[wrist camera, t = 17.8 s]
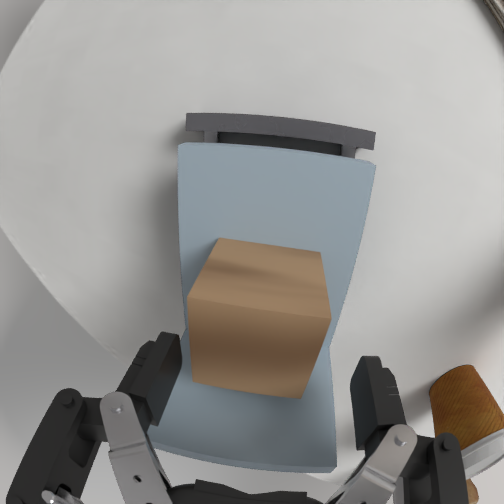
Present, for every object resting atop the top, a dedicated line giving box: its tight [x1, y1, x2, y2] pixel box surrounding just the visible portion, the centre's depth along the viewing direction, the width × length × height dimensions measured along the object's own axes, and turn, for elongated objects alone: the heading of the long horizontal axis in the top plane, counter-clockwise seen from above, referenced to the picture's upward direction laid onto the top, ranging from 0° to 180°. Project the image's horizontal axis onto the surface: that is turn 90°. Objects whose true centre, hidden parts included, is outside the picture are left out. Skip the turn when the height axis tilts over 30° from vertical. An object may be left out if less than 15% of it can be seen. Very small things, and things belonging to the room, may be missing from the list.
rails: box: [186, 113, 376, 159], centre depth 20 cm, size 24×10×2 cm, turn 176°
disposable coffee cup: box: [429, 365, 504, 480], centre depth 18 cm, size 10×10×12 cm
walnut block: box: [187, 238, 332, 399], centre depth 13 cm, size 5×5×5 cm
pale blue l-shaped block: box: [147, 142, 376, 473], centre depth 13 cm, size 12×9×12 cm
